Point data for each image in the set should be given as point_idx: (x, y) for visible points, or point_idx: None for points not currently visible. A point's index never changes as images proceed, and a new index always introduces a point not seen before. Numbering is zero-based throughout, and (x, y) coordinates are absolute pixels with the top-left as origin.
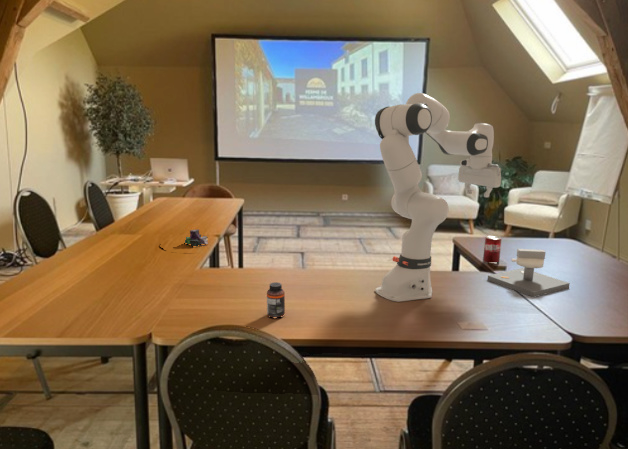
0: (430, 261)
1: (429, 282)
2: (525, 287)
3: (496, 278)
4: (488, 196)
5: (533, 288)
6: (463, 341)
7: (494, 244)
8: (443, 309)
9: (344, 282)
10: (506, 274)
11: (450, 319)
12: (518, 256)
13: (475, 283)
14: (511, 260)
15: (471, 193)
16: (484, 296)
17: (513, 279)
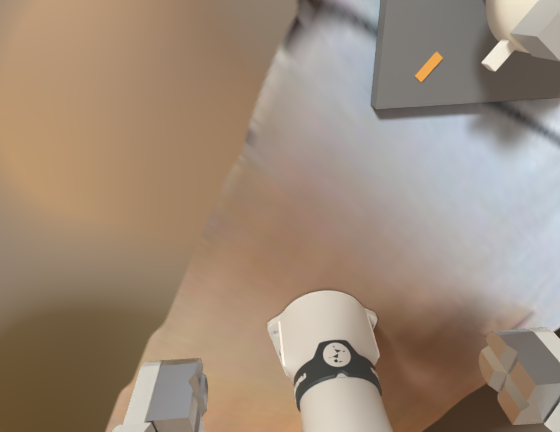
0: (376, 376)
1: (374, 338)
2: (527, 86)
3: (414, 106)
4: (543, 341)
5: (553, 67)
6: None
7: None
8: (430, 323)
9: (218, 393)
10: (411, 24)
11: (465, 335)
12: (531, 52)
13: (369, 165)
14: (484, 65)
15: (200, 361)
16: (446, 214)
17: (460, 52)
